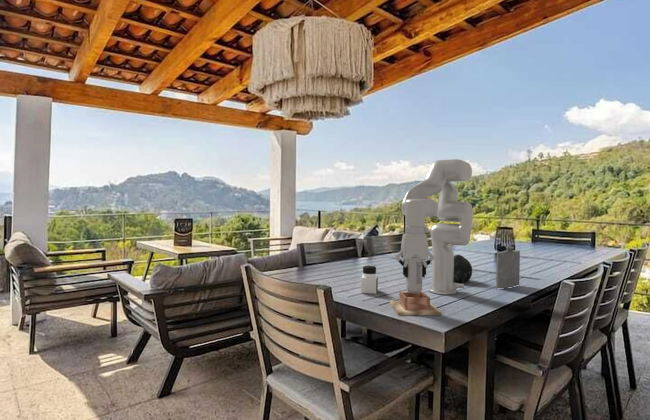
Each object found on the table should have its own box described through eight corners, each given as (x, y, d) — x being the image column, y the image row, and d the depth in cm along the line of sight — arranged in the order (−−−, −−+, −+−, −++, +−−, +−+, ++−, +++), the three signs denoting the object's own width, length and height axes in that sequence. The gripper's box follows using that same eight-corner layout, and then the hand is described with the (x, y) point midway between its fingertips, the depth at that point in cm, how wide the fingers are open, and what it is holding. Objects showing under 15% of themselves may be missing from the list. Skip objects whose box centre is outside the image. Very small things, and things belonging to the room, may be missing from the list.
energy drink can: (411, 289, 152) (411, 252, 152) (425, 291, 148) (425, 253, 148) (403, 292, 148) (403, 253, 148) (417, 294, 144) (417, 255, 144)
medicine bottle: (376, 294, 171) (376, 267, 171) (360, 293, 173) (360, 267, 172) (377, 290, 178) (377, 264, 178) (362, 289, 180) (362, 264, 179)
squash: (454, 266, 210) (445, 247, 203) (480, 271, 199) (472, 252, 191) (443, 286, 204) (433, 267, 196) (469, 292, 192) (460, 273, 185)
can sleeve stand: (428, 303, 157) (428, 289, 156) (440, 315, 141) (441, 300, 140) (389, 303, 156) (390, 289, 156) (397, 315, 140) (398, 300, 140)
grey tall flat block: (514, 284, 190) (515, 245, 189) (522, 286, 187) (523, 245, 186) (494, 288, 182) (495, 247, 181) (502, 290, 178) (503, 248, 178)
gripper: (434, 230, 151) (433, 275, 152) (391, 230, 151) (390, 274, 152) (440, 231, 144) (439, 278, 144) (394, 231, 144) (394, 278, 144)
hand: (414, 276), depth 148 cm, fingers closed on energy drink can, 6 cm apart
